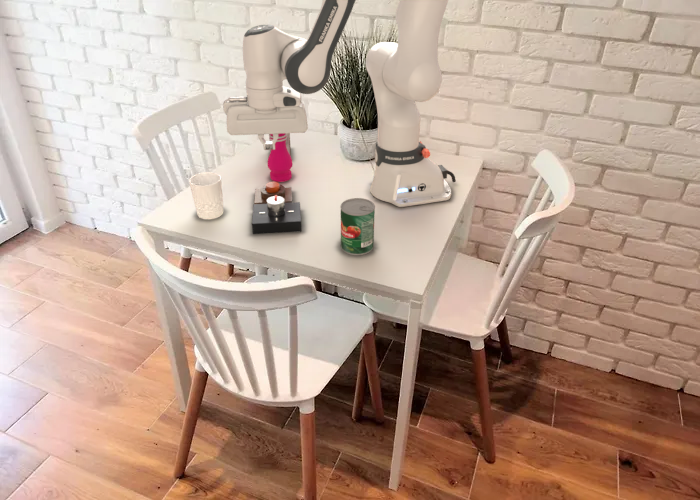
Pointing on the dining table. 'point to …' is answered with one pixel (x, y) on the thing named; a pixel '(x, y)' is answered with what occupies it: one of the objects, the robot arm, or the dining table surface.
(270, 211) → the hob knob
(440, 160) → the dining table surface
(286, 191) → the button box
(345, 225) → the canned tomato
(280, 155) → the pepper mill
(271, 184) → the button
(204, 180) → the white cup
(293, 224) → the hob panel
